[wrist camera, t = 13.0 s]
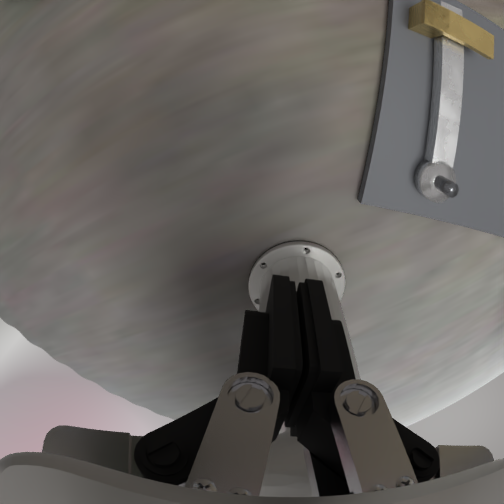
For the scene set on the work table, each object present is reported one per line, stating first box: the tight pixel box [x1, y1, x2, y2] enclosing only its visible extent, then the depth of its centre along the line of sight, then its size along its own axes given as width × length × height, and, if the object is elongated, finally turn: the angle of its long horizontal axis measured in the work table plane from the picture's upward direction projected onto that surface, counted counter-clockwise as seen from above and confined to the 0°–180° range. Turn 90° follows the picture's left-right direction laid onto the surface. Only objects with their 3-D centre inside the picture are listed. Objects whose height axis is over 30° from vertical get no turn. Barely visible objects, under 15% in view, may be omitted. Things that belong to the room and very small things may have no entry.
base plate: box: [358, 0, 504, 237], centre depth 26 cm, size 29×32×2 cm
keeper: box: [408, 0, 494, 60], centre depth 20 cm, size 3×10×4 cm, turn 83°
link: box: [414, 1, 464, 203], centre depth 23 cm, size 24×5×5 cm, turn 178°
